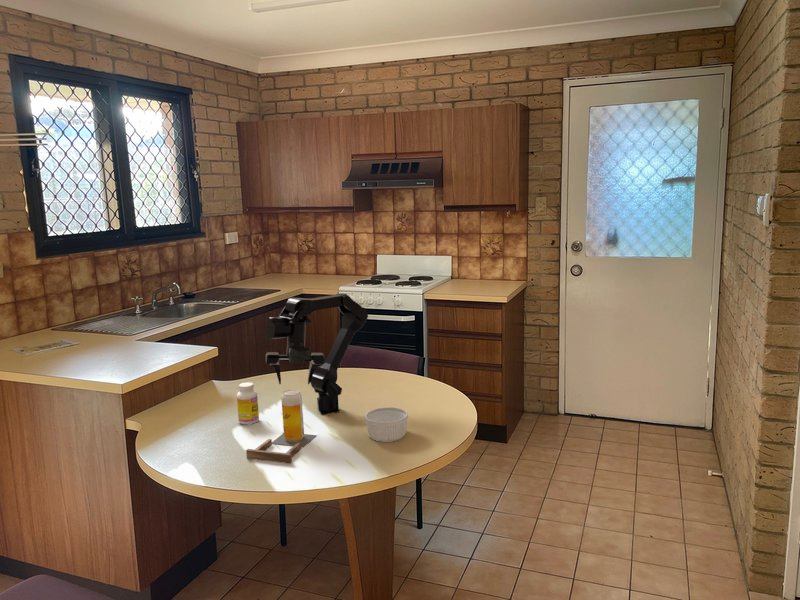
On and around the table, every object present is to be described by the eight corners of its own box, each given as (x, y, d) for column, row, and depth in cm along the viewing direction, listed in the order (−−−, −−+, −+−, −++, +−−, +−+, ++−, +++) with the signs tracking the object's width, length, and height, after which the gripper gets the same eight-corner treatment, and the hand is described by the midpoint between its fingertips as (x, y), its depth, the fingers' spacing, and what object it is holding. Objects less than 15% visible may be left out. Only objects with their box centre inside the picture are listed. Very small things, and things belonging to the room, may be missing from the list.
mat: (285, 432, 200) (285, 431, 200) (316, 435, 197) (316, 435, 197) (270, 443, 192) (270, 443, 192) (303, 447, 189) (303, 446, 189)
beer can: (285, 435, 197) (282, 389, 195) (304, 434, 198) (302, 388, 195) (283, 443, 191) (280, 396, 189) (303, 442, 192) (300, 394, 189)
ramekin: (376, 447, 187) (375, 425, 186) (358, 433, 198) (357, 411, 197) (416, 438, 193) (415, 416, 192) (396, 424, 204) (395, 403, 203)
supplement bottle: (254, 425, 207) (251, 388, 205) (235, 424, 208) (232, 387, 206) (262, 418, 214) (259, 381, 211) (244, 417, 215) (241, 381, 213)
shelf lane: (264, 444, 192) (264, 436, 191) (306, 449, 187) (305, 441, 187) (246, 458, 182) (246, 450, 182) (290, 463, 178) (289, 455, 177)
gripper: (267, 340, 195) (266, 390, 197) (328, 341, 200) (325, 390, 201) (266, 334, 206) (264, 382, 208) (323, 335, 211) (321, 381, 212)
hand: (294, 384), depth 207 cm, fingers open, 9 cm apart
